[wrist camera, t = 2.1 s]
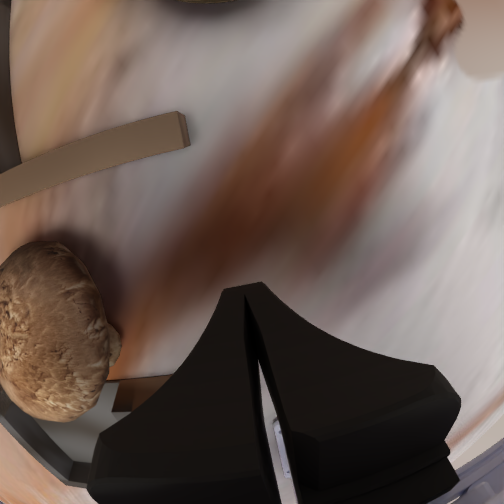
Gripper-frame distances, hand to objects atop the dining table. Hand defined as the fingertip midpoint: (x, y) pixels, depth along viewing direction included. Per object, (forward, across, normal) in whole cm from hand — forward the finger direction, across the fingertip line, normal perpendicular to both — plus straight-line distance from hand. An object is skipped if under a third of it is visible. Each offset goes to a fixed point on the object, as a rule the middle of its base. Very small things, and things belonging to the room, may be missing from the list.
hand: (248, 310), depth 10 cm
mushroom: (+4, +9, 0) cm, 10 cm away
